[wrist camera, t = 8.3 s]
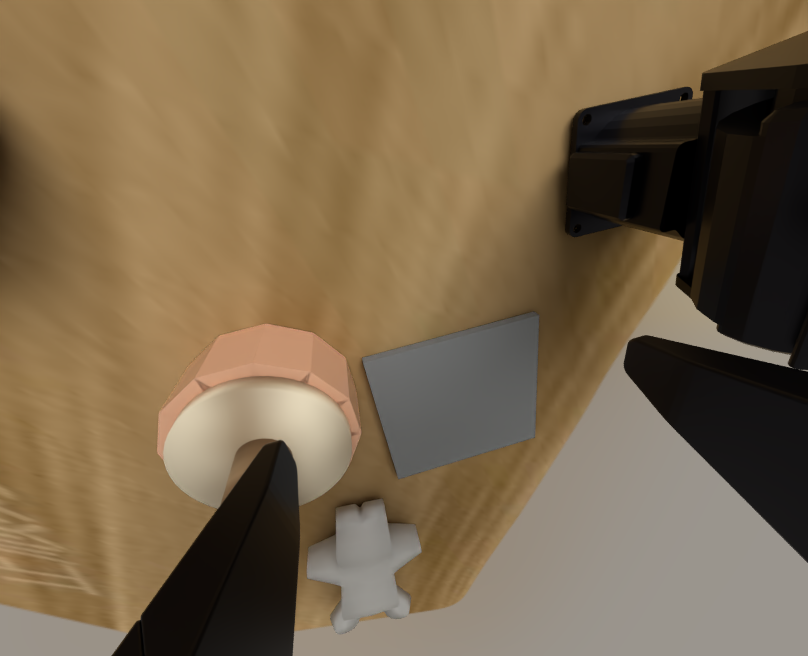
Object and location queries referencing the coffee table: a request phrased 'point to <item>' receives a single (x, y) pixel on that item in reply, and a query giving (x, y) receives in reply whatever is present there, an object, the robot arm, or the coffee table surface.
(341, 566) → the grey toy figurine
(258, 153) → the coffee table surface
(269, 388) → the lid
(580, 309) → the coffee table surface
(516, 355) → the mat
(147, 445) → the coffee table surface
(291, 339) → the bowl
